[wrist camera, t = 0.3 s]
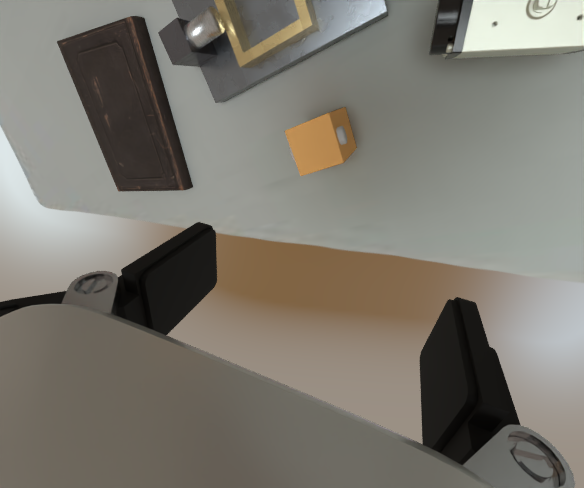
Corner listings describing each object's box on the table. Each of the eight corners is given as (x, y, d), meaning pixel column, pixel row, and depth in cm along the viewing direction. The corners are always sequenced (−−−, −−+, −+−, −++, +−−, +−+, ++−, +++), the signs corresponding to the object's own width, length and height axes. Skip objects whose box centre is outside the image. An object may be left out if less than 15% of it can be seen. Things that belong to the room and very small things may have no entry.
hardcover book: (128, 187, 54) (118, 191, 53) (71, 43, 44) (56, 41, 42) (195, 186, 48) (186, 190, 47) (147, 18, 38) (133, 15, 36)
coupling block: (349, 105, 34) (333, 110, 27) (360, 146, 36) (348, 161, 29) (304, 123, 37) (280, 132, 30) (317, 161, 38) (296, 177, 32)
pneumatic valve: (566, 56, 26) (657, 41, 16) (425, 62, 30) (430, 53, 20) (597, -25, 23) (729, -103, 13) (438, -7, 27) (450, -58, 17)
